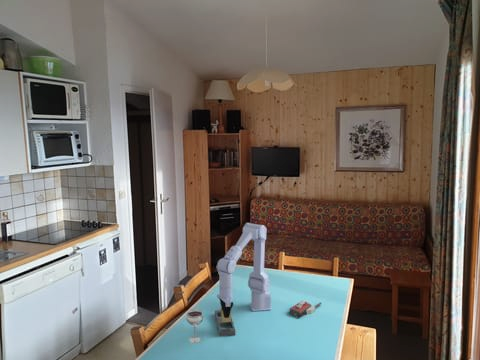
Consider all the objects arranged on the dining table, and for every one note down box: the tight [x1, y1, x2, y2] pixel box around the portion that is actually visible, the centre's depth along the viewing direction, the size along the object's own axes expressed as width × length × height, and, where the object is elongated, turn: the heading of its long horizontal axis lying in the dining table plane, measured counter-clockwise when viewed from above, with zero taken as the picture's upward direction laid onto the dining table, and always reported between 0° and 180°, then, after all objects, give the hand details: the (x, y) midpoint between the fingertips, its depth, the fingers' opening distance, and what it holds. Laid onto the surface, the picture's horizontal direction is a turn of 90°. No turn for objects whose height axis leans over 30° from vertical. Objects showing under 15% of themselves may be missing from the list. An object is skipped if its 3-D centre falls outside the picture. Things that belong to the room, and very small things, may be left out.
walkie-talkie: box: [288, 300, 322, 318], centre depth 187 cm, size 9×4×20 cm
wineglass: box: [186, 308, 204, 344], centre depth 158 cm, size 7×7×12 cm
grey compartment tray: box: [214, 309, 236, 337], centre depth 172 cm, size 7×20×2 cm, turn 10°
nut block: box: [220, 306, 232, 322], centre depth 166 cm, size 4×4×5 cm
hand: (225, 315), depth 167 cm, fingers closed on nut block, 4 cm apart
